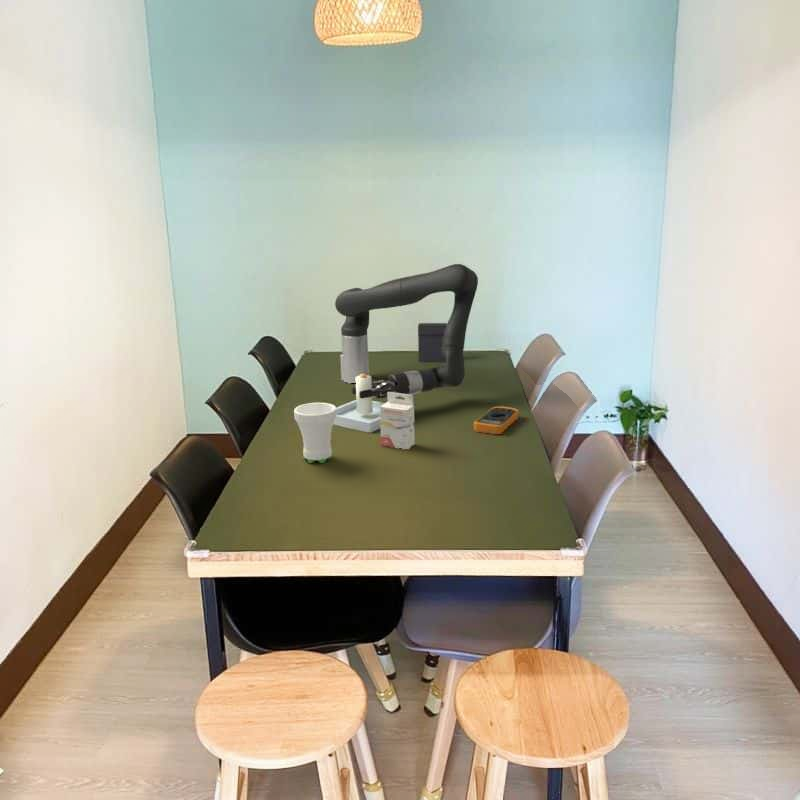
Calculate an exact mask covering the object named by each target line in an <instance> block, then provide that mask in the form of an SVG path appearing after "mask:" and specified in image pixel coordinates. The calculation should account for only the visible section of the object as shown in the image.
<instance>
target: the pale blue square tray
mask: <svg viewBox="0 0 800 800" xmlns="http://www.w3.org/2000/svg"><path fill="white" fill-rule="evenodd" d="M385 403H386V402H381V401H374V400H372V406H373V412H372V413H370V414H359V413H357V400H356V399H355V400H351V401H350V402H347V403H344V404H341V405H340V406H338V407H337V406H336V418H335V420H334V423H333V426H338V427H342V428H346V429H351V430H354V431H355V430H356V431H361V432H363V433H364V432H366V433H368V432H369V433H368V434H370V433H373V432H375V431H377V430H380V429H381V424H380V406H382V405H383V404H385Z"/></svg>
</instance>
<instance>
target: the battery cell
mask: <svg viewBox="0 0 800 800" xmlns="http://www.w3.org/2000/svg"><path fill="white" fill-rule="evenodd" d="M355 379H356V384H355V386H356V394H355V397H356V398H355V400H357V413H359V414H370V413H372V412H373V406H372V401H373V397H368V398H362V399H361V398H360V397H359V392H360V391H364V390H369V389H371V391H372V383H371V380H372V375H370V374H369V375H367V374H360V376H356V377H355Z"/></svg>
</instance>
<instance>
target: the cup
mask: <svg viewBox="0 0 800 800" xmlns="http://www.w3.org/2000/svg"><path fill="white" fill-rule="evenodd" d="M336 408H337V406H336V405H334V404H331V403H328V402H311V403H310V402H309V403H303V404H300V405H298V406H296V407H295V408H294V410H293V414H294V416H293V417H294V420H295V421H296V423H297V425H298V427H299V430H300V433H301V436H302V442H303V450H302V451H303V452H302V453H303V458H304V459H305V460H306V459H307V460H306V461H307V462H308V463H309V464H313V463H315V461H318V462H319V463H320V464H324V463H325V462H326V461H327V460H328V459H329V460H331V459H332V457H333V451H332V450H333V448H332V445H331V437H332V430H333V426H334V425H333V423H334V420H335V418H336Z"/></svg>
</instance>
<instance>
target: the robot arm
mask: <svg viewBox="0 0 800 800" xmlns="http://www.w3.org/2000/svg"><path fill="white" fill-rule="evenodd" d="M478 285H479V278H478V275H477V273H476V272H475V271H474V270H472V269H471V268H469V267H468V266H466V265H465V264H461V263H455V264H450V265H447V266H444V267H442V268H439V269H435V270H433V271H430V272H424V273H418V274H414V275H411V276H410V275H409V276H405V277H400V278H394V279H391V280H388V281H386V282H383V283H380V284H377V285H375V286H372V287H369V288H365V289H362V288H360V287H354V288H349V289H346V290H344V291H342V292H341V293H339V294H338V296H337V297H336V299H335V305H334V306H335V310H336V311H337V312H338V313H339V314H340V315H341V316H344V317H345V321H344V323H343V324H342V326H341V328H340V331H341V333H340V334H341V348H342V349H341V351H342V352H341V353H342V354H340V377H341V379H340V380H341V381H342V380H343V381H342V382H344V383H346V382H347V383H346V384H351V383H356V379H355V377H356V376H360V374H367V375H369V376H370V372H369V371H370V370H369V369H370V368H369V344H368V339H369V338H368V328H369V325H370V311H372V310H381V309H389V308H391V309H392V308H396V307H398V308H399V307H403V306H408V305H413V304H415V303H419V302H420V301H422V300H423V299H425V298H426V297H428V296H430V295H433V294H439V293H443V292H452V293H454V302H453V303H454V304H453V307H452V308H453V309H452V312H451V314H450V317H449V319H448V320H447V323H446V324H447V325H446V328H445V331H444V337H443V344H442V355H443V356H445V357H446V362H445V363H446V364H445V365H439V366H433V367H431V368H425V369H417V370H409V371H403V372H402V371H400V372H398V373H397V372H396V373H391V374H389V375H388V376H387V378H386V380H384V379H382V380H381V379H379V380H378V379H376V378H373V379H371V383H372V391H371V389H369V390H364V391H360V392H359V397H360V398H361V399H362V398H368V397H372V399H373V398H376V399H387V392H393V393H402V394H409V395H413V396H414V395H417V394H420V393H425V392H429V391H432V390H434V389H440V388H450V387H451V388H455V387H459V386H460V385H461V384H462V383H463V382H464V379H465V375H466V367H465V359H464V348H465V341H466V335H467V334H466V333H467V328H468V327H467V326H468V323H469V318H470V314H471V310H472V306H473V302H474V301H475V300H474V298H475V297H476V293H477V290H478ZM351 394H352V395H356V385H355V386H352V387H351ZM399 398H402V397H401V396H399V397H396V399H399Z"/></svg>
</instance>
